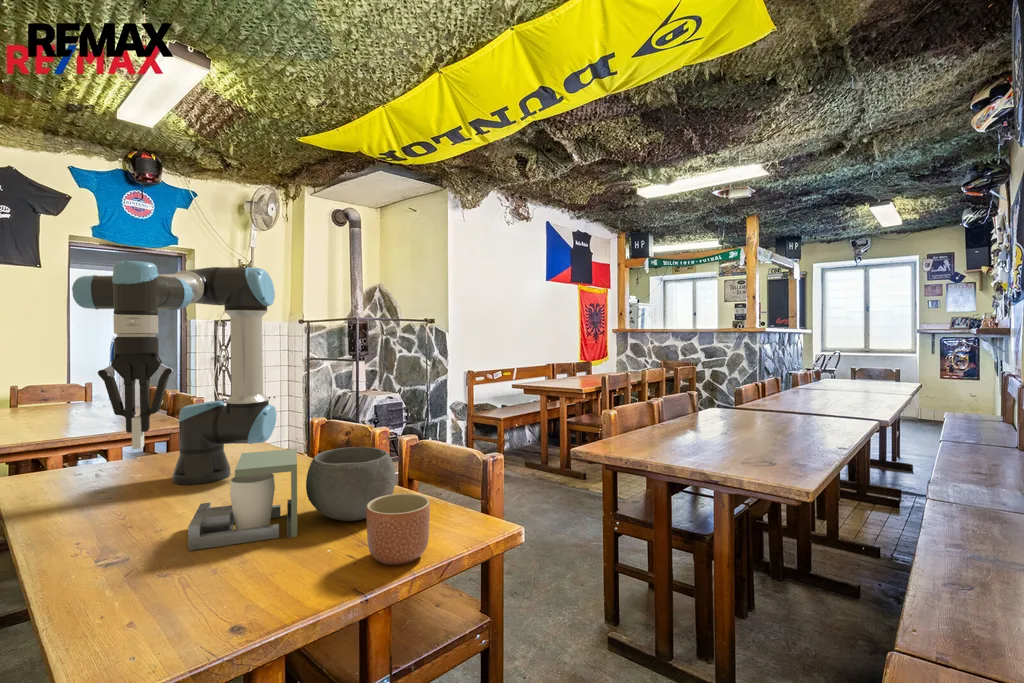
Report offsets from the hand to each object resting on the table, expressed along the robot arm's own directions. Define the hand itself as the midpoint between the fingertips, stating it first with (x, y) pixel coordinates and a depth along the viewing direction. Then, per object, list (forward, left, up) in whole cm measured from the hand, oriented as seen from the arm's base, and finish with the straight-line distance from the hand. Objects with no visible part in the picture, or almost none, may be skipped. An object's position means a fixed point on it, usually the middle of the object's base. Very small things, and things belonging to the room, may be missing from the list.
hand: (138, 447), depth 106 cm
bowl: (0, +43, -21) cm, 48 cm away
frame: (+1, +18, -21) cm, 27 cm away
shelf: (+1, +24, -21) cm, 32 cm away
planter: (+28, +49, -21) cm, 60 cm away
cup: (+1, +21, -21) cm, 30 cm away
